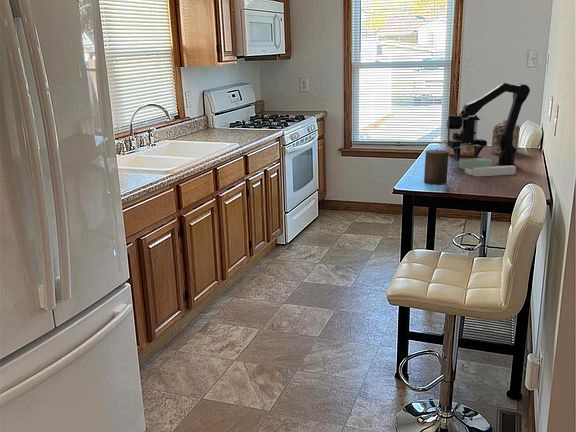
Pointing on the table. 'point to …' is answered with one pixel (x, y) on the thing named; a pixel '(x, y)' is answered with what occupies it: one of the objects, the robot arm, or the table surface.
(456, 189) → the table surface
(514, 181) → the table surface
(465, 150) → the cracker box
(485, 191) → the table surface
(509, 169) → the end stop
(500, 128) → the decorative jar
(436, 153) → the pillar candle
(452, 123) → the robot arm
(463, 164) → the bar
